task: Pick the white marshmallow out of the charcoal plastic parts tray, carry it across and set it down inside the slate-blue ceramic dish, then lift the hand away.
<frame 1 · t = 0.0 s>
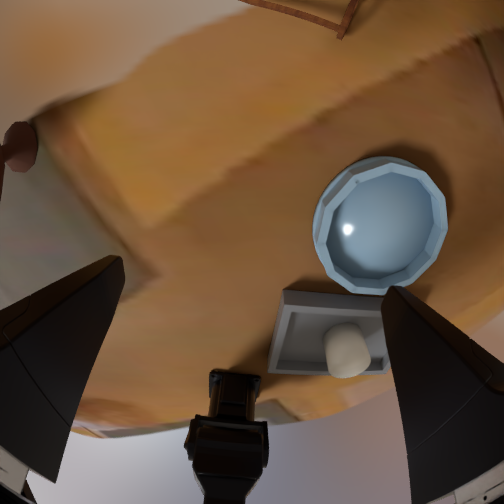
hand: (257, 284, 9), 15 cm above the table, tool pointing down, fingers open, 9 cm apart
parts tray: (341, 332, 30), on the table
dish: (380, 225, 24), on the table
white marshmallow: (342, 337, 30), point 1 cm above the table, touching parts tray
ice cream bowl: (21, 146, 21), on the table
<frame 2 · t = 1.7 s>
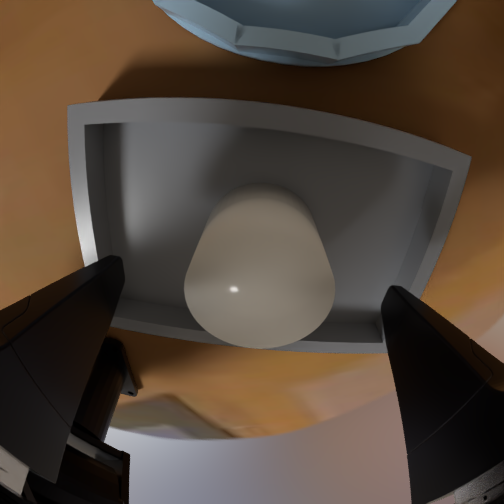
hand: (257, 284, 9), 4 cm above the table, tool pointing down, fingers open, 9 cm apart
parts tray: (261, 226, 13), on the table
white marshmallow: (260, 235, 12), point 1 cm above the table, touching parts tray
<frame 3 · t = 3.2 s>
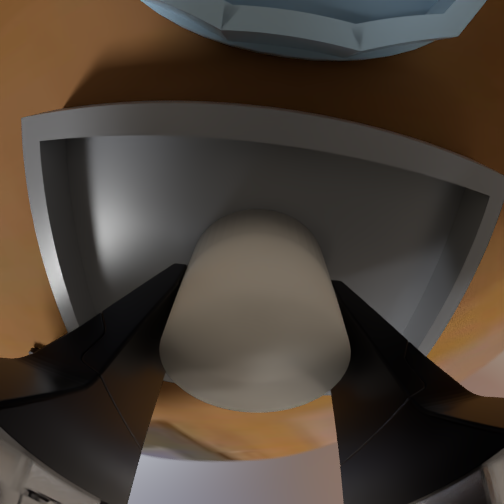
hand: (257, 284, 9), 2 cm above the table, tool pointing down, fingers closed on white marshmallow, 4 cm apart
parts tray: (258, 258, 10), on the table
white marshmallow: (257, 271, 10), point 1 cm above the table, touching gripper, parts tray
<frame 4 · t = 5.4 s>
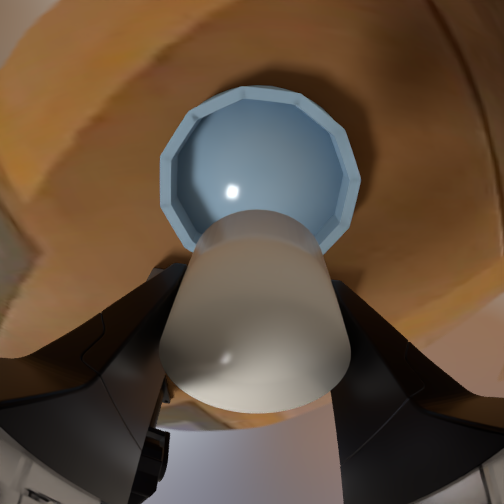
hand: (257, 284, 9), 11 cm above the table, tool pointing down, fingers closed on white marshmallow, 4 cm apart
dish: (259, 180, 19), on the table
white marshmallow: (257, 271, 10), point 10 cm above the table, touching gripper
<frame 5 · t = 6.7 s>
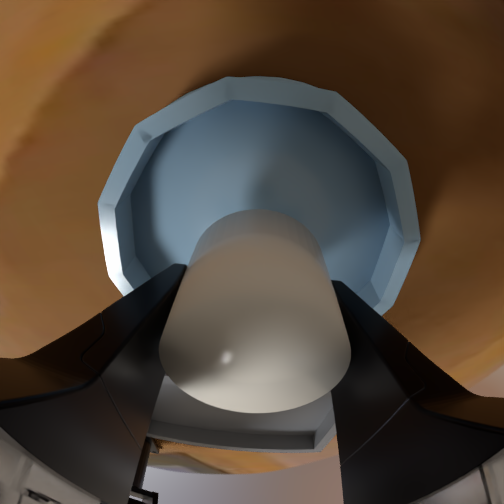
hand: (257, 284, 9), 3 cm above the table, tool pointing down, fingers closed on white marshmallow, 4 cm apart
parts tray: (236, 399, 19), on the table
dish: (259, 232, 12), on the table
white marshmallow: (257, 271, 10), point 3 cm above the table, touching gripper
when the fingers open (3 cm above the table, at t = 7.6 s): white marshmallow drops 2 cm, resting on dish.
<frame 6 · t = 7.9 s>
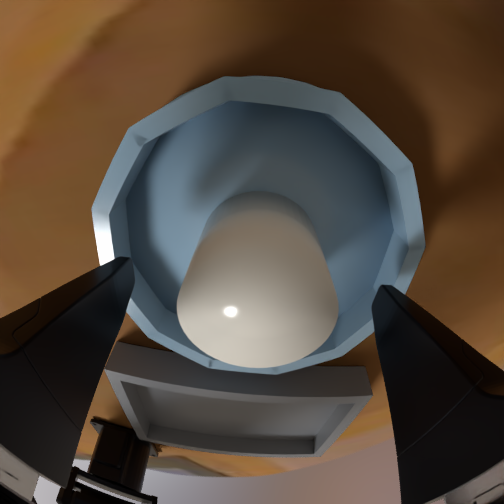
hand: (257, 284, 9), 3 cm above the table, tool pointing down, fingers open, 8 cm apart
parts tray: (235, 404, 18), on the table
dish: (258, 238, 12), on the table
white marshmallow: (259, 246, 11), point 1 cm above the table, touching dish
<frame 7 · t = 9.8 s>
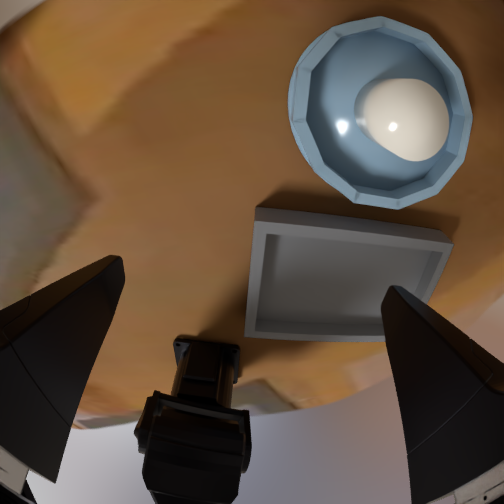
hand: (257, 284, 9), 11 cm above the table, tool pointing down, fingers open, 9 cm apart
parts tray: (344, 277, 22), on the table
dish: (382, 110, 16), on the table
white marshmallow: (386, 112, 15), point 1 cm above the table, touching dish
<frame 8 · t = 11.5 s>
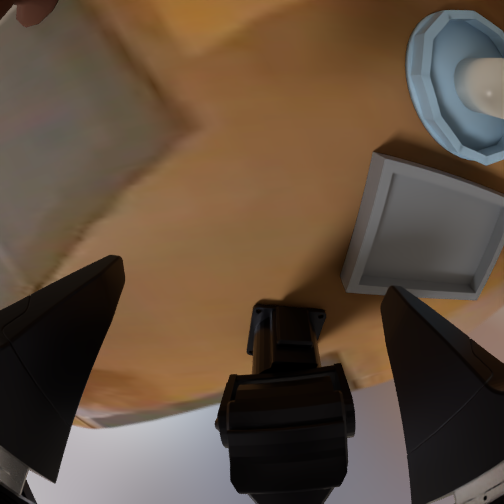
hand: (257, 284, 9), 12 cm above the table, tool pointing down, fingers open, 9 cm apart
parts tray: (434, 232, 21), on the table
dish: (469, 84, 14), on the table
white marshmallow: (474, 85, 14), point 1 cm above the table, touching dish
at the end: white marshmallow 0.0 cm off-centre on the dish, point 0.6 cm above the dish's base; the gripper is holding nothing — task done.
